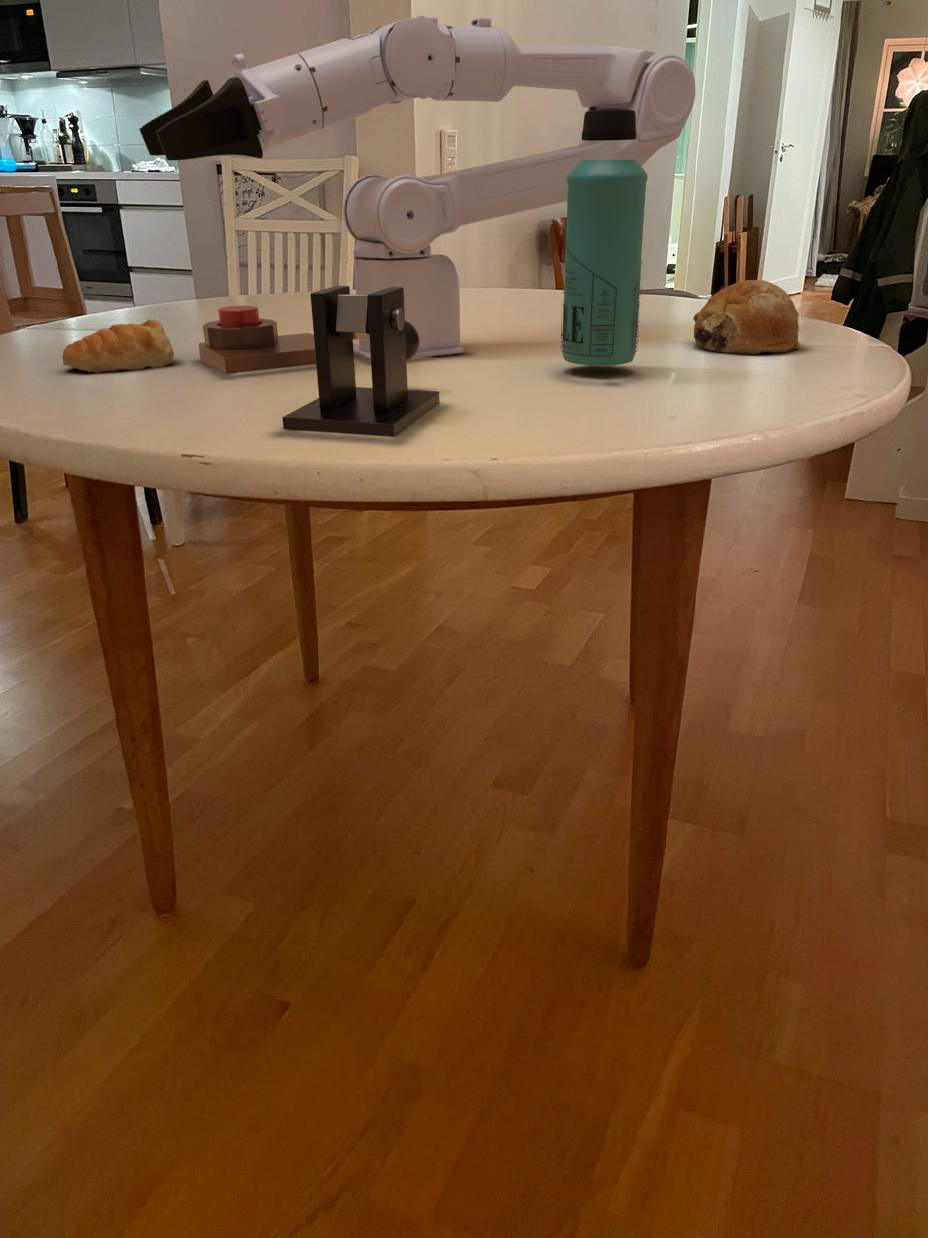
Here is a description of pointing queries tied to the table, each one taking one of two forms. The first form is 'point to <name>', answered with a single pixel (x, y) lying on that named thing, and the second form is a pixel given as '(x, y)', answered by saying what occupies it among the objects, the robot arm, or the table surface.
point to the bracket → (338, 395)
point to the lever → (366, 322)
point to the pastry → (121, 348)
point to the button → (238, 316)
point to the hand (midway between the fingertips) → (153, 143)
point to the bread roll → (748, 320)
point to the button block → (254, 347)
